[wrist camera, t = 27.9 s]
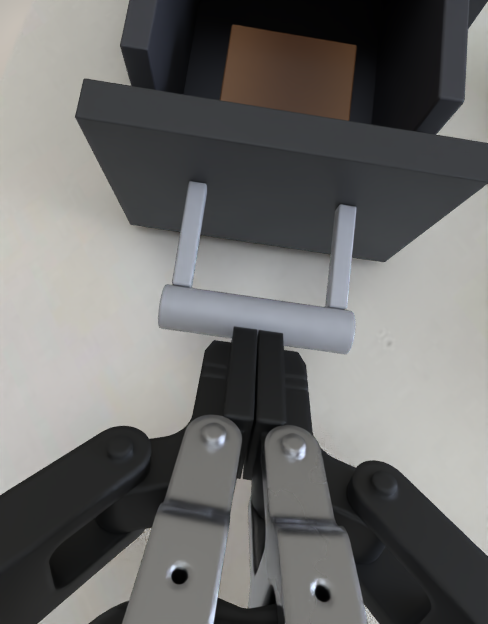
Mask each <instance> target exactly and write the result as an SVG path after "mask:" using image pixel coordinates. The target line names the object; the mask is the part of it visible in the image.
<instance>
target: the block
mask: <svg viewBox="0 0 488 624" xmlns="http://www.w3.org/2000/svg"><path fill="white" fill-rule="evenodd" d="M356 51H357V46H356V45H353V44H347V43H341V42H335V41H329V40H323V39H317V38H311V37H305V36H299V35H294V34H288V33H282V32H276V31H270V30H264V29H258V28H252V27H246V26H240V25H234V24H233V25H232V26H231V32H230V38H229V44H228V50H227V56H226V63H225V69H224V75H223V81H222V87H221V93H220V99H219V100H222V101H228V102H234V103H241V104H247V105H253V106H259V107H266V108H272V109H278V110H284V111H291V112H297V113H303V114H309V115H316V116H322V117H328V118H334V119H341V120H347V121H349V119H350V109H351V100H352V90H353V80H354V70H355V61H356Z"/></svg>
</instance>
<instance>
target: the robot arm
mask: <svg viewBox="0 0 488 624" xmlns="http://www.w3.org/2000/svg"><path fill="white" fill-rule="evenodd" d="M243 465H244V467H243ZM242 469H243V479H247V480H252V488H251V497H250V501H249V505H248V524H249V554H250V593H249V602H248V609H246V608H241V607H238V606H236V605H234V604H231V603H229V602H227V601H224V600H222V599H220V598H218V592H219V586H220V580H221V573H222V567H223V561H224V555H225V548H226V542H227V536H228V530H229V523H230V511H231V505H232V499H233V493H234V489H235V484H236V480H237V478H238V479H240V478H241V473H242ZM151 527H152V529H151V532H150V535H149V539H148V542H147V545H146V548H145V552H144V555H143V558H142V561H141V564H140V568H139V571H138V574H137V577H136V581H135V584H134V587H133V590H132V593H131V597H130V600H129V601H127V602H124V603H121V604H119V605H117V606H115V607H113V608H111V609H109V610H108V611H106V612H104V613H103V614H101V615H99V616H98V617H97V618H95V619H94V620H93V621H92V622H90V623H89V624H368V621H367V616H366V612H365V607H364V604H365V606H366V607H367V608H368V609H369V611H370V612H371V613H372V615H373V616H374V617H375V618H376V620H377V621H378V622H379V623H380V624H488V556H487V555H486V554H485V553H484V552H483V551H482V550H481V549H480V548H478V547H477V546H476V545H475V544H474V543H473V542H472V541H471V540H470V539H469V538H468V537H467V536H466V535H465V534H464V533H463V532H462V531H461V530H460V529H459V528H458V527H457V526H456V525H455V524H454V523H453V522H452V521H450V520H449V519H448V518H447V517H446V516H445V515H444V514H443V513H442V512H441V511H440V510H439V509H438V508H437V507H436V506H435V505H434V504H433V503H432V502H431V501H430V500H429V499H428V498H427V497H426V496H425V495H424V494H422V493H421V492H420V491H419V490H418V489H417V488H416V487H415V486H414V485H413V484H412V483H411V482H410V481H409V480H408V479H407V478H406V477H405V476H404V475H403V474H402V473H401V472H399V471H398V470H397V469H396V468H394V467H393V466H391V465H389V464H387V463H384V462H380V461H366V462H363V463H361V464H360V465H358V466H357V468H355V467H353V466H351V465H348V464H346V463H343V462H341V461H339V460H337V459H335V458H333V457H331V456H330V455H328V454H327V453H326V452H324V451H323V450H322V449H321V448H320V445H319V443H318V441H317V440H316V439H315V437H314V436H313V432H312V423H311V413H310V402H309V392H308V381H307V371H306V364H305V362H304V361H303V359H302V358H301V356H300V355H299V353H298V352H294V351H287V350H284V340H283V333H279V332H272V331H265V330H259V331H258V335H257V329H251V328H244V327H237V326H234V328H233V334H232V340H231V343H230V342H223V341H216V340H214V341H213V342H212V343H211V344H210V345H209V347H208V348H207V349H206V350H205V353H204V358H203V364H202V369H201V374H200V379H199V384H198V389H197V395H196V400H195V405H194V410H193V415H192V418H191V420H190V422H189V423H188V425H187V426H186V427H185V428H184V429H182V430H181V431H179V432H177V433H175V434H173V435H170V436H166V437H160V438H153V439H149V438H148V437H147V436H146V434H145V433H143V432H142V431H141V430H139V429H137V428H134V427H129V426H116V427H112V428H109V429H107V430H105V431H103V432H101V433H99V434H98V435H96V436H95V437H93V438H91V439H90V440H88V441H87V442H85V443H83V444H82V445H80V446H79V447H77V448H75V449H74V450H72V451H71V452H69V453H67V454H66V455H64V456H62V457H61V458H59V459H58V460H56V461H54V462H53V463H51V464H50V465H48V466H46V467H45V468H43V469H42V470H40V471H38V472H37V473H35V474H34V475H32V476H30V477H29V478H27V479H26V480H24V481H22V482H21V483H19V484H18V485H16V486H14V487H13V488H11V489H10V490H8V491H6V492H5V493H3V494H2V495H0V624H38V623H39V622H40V621H41V620H42V619H43V618H44V617H46V616H47V615H48V614H49V613H50V612H51V611H53V610H54V609H55V608H56V607H57V606H58V605H60V604H61V603H62V602H63V601H64V600H65V599H67V598H68V597H69V596H70V595H71V594H72V593H74V592H75V591H76V590H77V589H78V588H79V587H81V586H82V585H83V584H84V583H85V582H86V581H87V580H89V579H90V578H91V577H92V576H93V575H94V574H96V573H97V572H98V571H99V570H100V569H101V568H103V567H104V566H105V565H106V564H107V563H108V562H110V561H111V560H112V559H113V558H114V557H115V556H117V555H118V554H119V553H120V552H121V551H122V550H123V549H125V548H126V547H127V546H128V545H129V544H130V543H132V542H133V541H134V540H135V539H136V538H137V537H139V536H140V535H141V534H142V533H143V531H144V530H145V529H147V528H151Z"/></svg>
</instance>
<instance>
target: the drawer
mask: <svg viewBox="0 0 488 624" xmlns="http://www.w3.org/2000/svg"><path fill="white" fill-rule="evenodd" d="M468 17H469V0H130V1H129V5H128V10H127V15H126V20H125V24H124V29H123V34H122V39H121V43H120V47H121V50H122V54H123V58H124V61H125V65H126V68H127V72H128V75H129V79H130V83H131V86H128V85H122V84H116V83H109V82H103V81H97V80H91V79H84V80H83V84H82V88H81V93H80V97H79V102H78V106H77V111H76V115H75V118H76V120H77V122H78V124H79V126H80V128H81V129H82V131H83V133H84V135H85V137H86V139H87V141H88V143H89V145H90V147H91V149H92V151H93V153H94V155H95V157H96V159H97V160H98V162H99V164H100V166H101V168H102V170H103V172H104V174H105V176H106V178H107V180H108V182H109V184H110V186H111V188H112V190H113V191H114V193H115V195H116V197H117V199H118V201H119V203H120V205H121V207H122V209H123V211H124V213H125V215H126V217H127V219H128V221H129V223H130V224H131V225H138V226H144V227H151V228H158V229H165V230H171V231H178V232H180V238H179V244H178V250H177V256H176V262H175V268H174V274H173V280H172V283H173V285H165V287H164V288H163V291H162V295H161V300H160V306H159V315H158V324H159V328H161V329H168V330H175V331H183V332H190V333H197V334H204V335H211V336H218V337H225V338H232V334H233V328H234V326H237V327H244V328H251V329H257V335H258V331H259V330H265V331H272V332H279V333H283V340H284V346H290V347H297V348H304V349H311V350H318V351H325V352H332V353H340V354H347V353H348V352H349V351H350V349H351V347H352V344H353V341H354V336H355V326H356V323H355V315H354V313H353V312H352V311H348V310H345V309H346V308H347V304H348V293H349V283H350V272H351V261H352V257H353V258H360V259H367V260H373V261H380V262H385V261H387V260H388V259H389V258H391V257H392V256H393V255H395V254H396V253H397V252H399V251H400V250H401V249H402V248H404V247H405V246H406V245H408V244H409V243H410V242H412V241H413V240H414V239H416V238H417V237H418V236H420V235H421V234H422V233H423V232H425V231H426V230H427V229H429V228H430V227H431V226H433V225H434V224H435V223H437V222H438V221H439V220H441V219H442V218H443V217H444V216H446V215H447V214H448V213H450V212H451V211H452V210H454V209H455V208H456V207H458V206H459V205H460V204H462V203H463V202H464V201H465V200H467V199H468V198H469V197H471V196H472V195H473V194H475V193H476V192H477V191H479V190H480V189H481V188H483V187H484V186H485V185H486V184H488V143H484V142H478V141H472V140H465V139H459V138H453V137H447V136H440V135H436V134H437V133H438V132H439V131H440V129H441V128H442V127H443V126H444V125H445V124H446V122H447V121H448V120H449V119H450V118H451V117H452V115H453V114H454V113H455V112H456V111H457V110H458V109H459V107H460V106H461V105H462V104H463V102H464V100H465V79H466V58H467V38H468ZM233 24H234V25H240V26H246V27H252V28H258V29H264V30H270V31H276V32H282V33H288V34H294V35H299V36H305V37H311V38H317V39H323V40H329V41H335V42H341V43H347V44H353V45H356V46H357V51H356V61H355V70H354V80H353V90H352V100H351V109H350V119H349V121H347V120H341V119H334V118H328V117H322V116H316V115H309V114H303V113H297V112H291V111H284V110H278V109H272V108H266V107H259V106H253V105H247V104H241V103H234V102H228V101H222V100H219V99H220V93H221V87H222V81H223V75H224V69H225V63H226V56H227V50H228V44H229V38H230V32H231V26H232V25H233ZM200 235H205V236H212V237H219V238H225V239H232V240H239V241H245V242H252V243H259V244H266V245H272V246H279V247H286V248H293V249H299V250H306V251H313V252H320V253H326V254H331V256H330V266H329V276H328V285H327V295H326V305H325V307H320V306H313V305H306V304H299V303H292V302H285V301H279V300H272V299H265V298H258V297H251V296H244V295H237V294H230V293H223V292H216V291H209V290H202V289H195V288H192V284H193V278H194V271H195V265H196V259H197V252H198V246H199V240H200Z"/></svg>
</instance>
